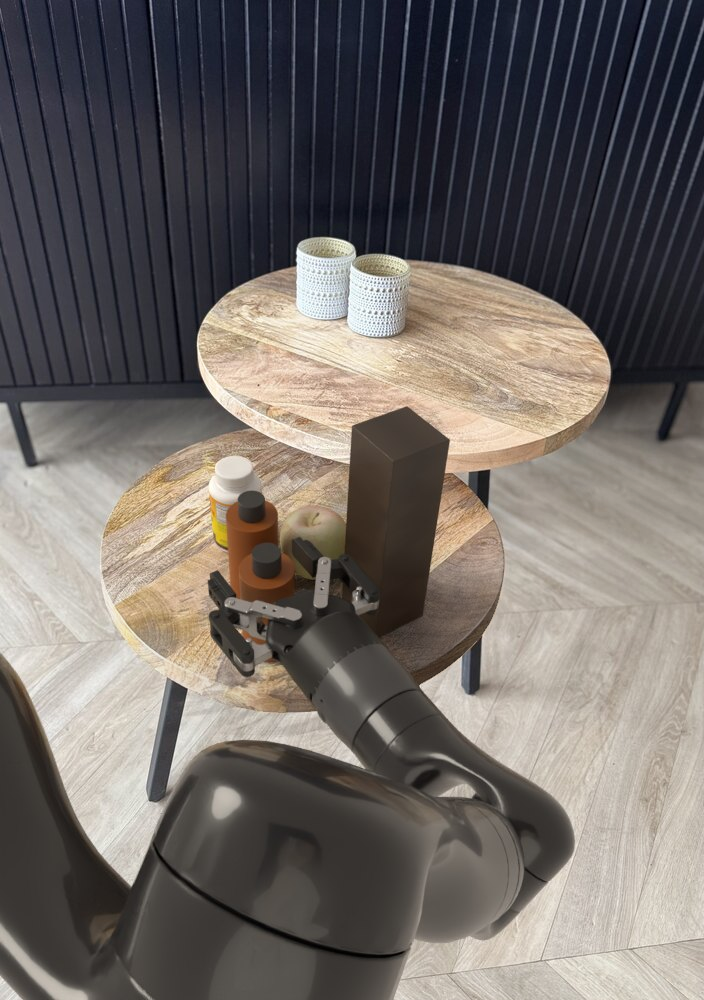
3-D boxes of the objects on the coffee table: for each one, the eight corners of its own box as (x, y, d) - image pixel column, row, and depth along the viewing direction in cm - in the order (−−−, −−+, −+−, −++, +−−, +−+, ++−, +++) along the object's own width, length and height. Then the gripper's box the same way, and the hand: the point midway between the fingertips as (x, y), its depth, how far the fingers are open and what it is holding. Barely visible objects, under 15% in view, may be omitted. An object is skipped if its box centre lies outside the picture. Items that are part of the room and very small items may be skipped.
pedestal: (375, 639, 79) (393, 461, 65) (341, 601, 83) (351, 425, 69) (423, 615, 82) (450, 439, 68) (388, 579, 86) (407, 405, 72)
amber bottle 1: (245, 611, 81) (240, 522, 74) (222, 581, 84) (215, 493, 77) (287, 592, 84) (287, 504, 76) (263, 564, 87) (261, 476, 79)
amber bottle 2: (258, 670, 76) (254, 580, 68) (234, 635, 79) (227, 545, 71) (304, 648, 78) (305, 559, 70) (278, 615, 81) (277, 526, 73)
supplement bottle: (227, 518, 92) (222, 445, 86) (271, 530, 91) (270, 458, 84) (204, 548, 88) (197, 475, 82) (250, 562, 87) (246, 489, 80)
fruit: (360, 578, 86) (364, 521, 81) (297, 599, 83) (297, 542, 78) (329, 534, 91) (331, 478, 86) (268, 552, 88) (267, 496, 83)
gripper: (431, 615, 65) (321, 503, 75) (277, 693, 58) (179, 559, 68) (421, 673, 70) (319, 561, 80) (278, 752, 63) (187, 619, 73)
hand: (255, 561), depth 74 cm, fingers open, 8 cm apart
